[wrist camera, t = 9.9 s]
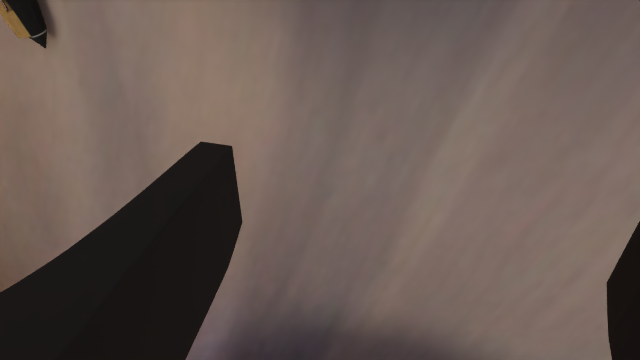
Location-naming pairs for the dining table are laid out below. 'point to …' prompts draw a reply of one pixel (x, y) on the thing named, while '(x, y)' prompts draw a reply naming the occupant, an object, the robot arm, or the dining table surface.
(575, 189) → the dining table surface
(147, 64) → the dining table surface
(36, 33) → the fountain pen
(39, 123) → the dining table surface
